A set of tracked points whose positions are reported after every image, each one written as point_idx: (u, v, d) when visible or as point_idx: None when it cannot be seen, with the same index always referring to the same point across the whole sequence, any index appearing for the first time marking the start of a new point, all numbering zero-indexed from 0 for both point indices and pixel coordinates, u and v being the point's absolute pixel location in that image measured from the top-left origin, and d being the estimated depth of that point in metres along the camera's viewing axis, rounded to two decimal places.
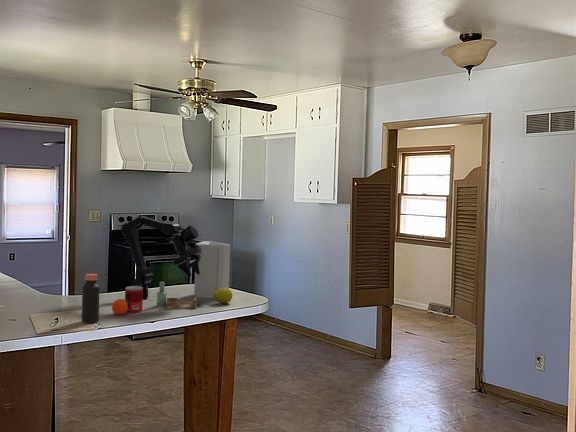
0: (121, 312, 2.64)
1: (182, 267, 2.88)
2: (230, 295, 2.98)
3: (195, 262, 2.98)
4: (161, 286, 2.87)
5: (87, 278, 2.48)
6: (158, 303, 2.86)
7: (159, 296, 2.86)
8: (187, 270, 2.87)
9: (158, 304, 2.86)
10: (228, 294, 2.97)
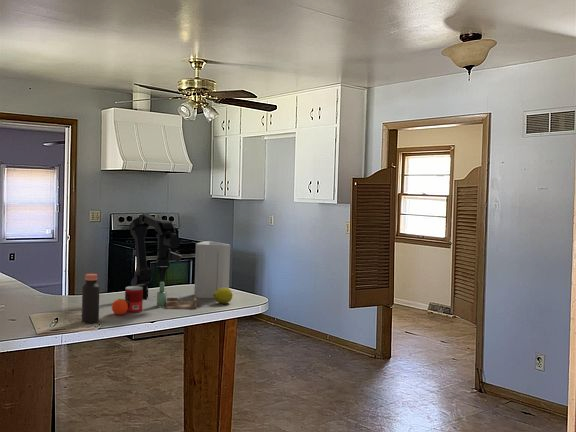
0: (121, 312, 2.64)
1: (160, 269, 2.81)
2: (230, 295, 2.98)
3: None
4: (161, 286, 2.87)
5: (87, 278, 2.48)
6: (158, 303, 2.86)
7: (159, 296, 2.86)
8: (163, 274, 2.82)
9: (158, 304, 2.86)
10: (228, 294, 2.97)
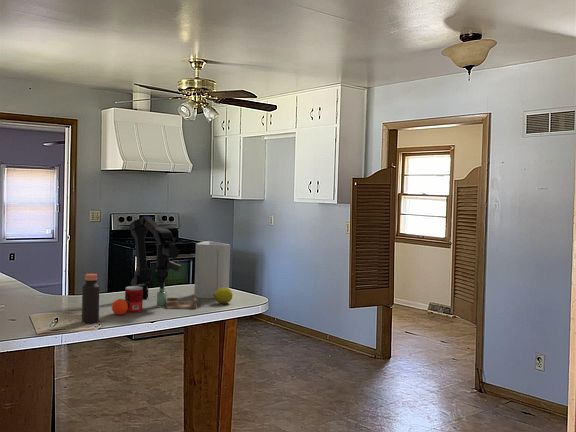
0: (121, 312, 2.64)
1: (159, 278, 2.84)
2: (230, 295, 2.98)
3: None
4: None
5: (87, 278, 2.48)
6: (158, 303, 2.86)
7: (159, 296, 2.86)
8: (162, 282, 2.85)
9: (158, 304, 2.86)
10: (228, 294, 2.97)
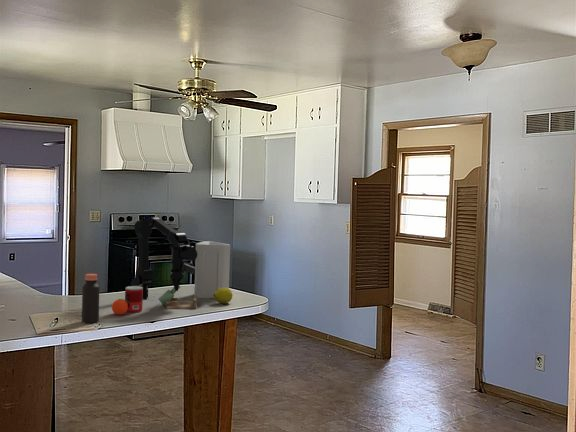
0: (121, 312, 2.64)
1: (174, 280, 2.86)
2: (230, 295, 2.98)
3: None
4: None
5: (87, 278, 2.48)
6: (161, 298, 2.86)
7: (167, 294, 2.87)
8: (177, 285, 2.87)
9: (160, 299, 2.86)
10: (228, 294, 2.97)
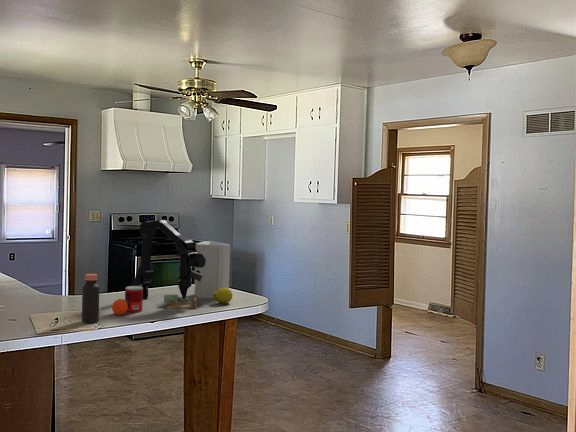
0: (121, 312, 2.64)
1: (182, 288, 2.84)
2: (230, 295, 2.98)
3: None
4: (184, 299, 2.89)
5: (87, 278, 2.48)
6: (167, 297, 2.87)
7: (174, 298, 2.87)
8: (185, 293, 2.85)
9: (166, 297, 2.87)
10: (228, 294, 2.97)
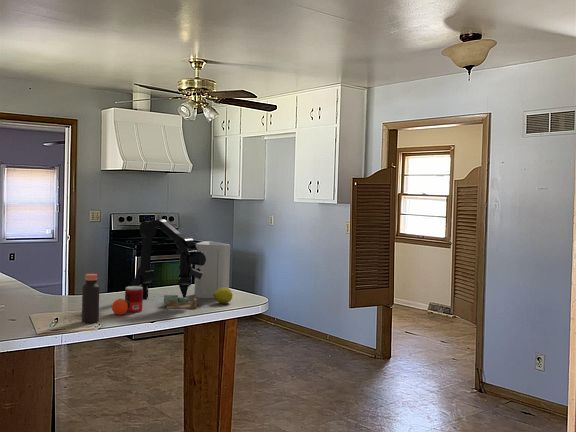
0: (121, 312, 2.64)
1: (182, 286, 2.83)
2: (230, 295, 2.98)
3: None
4: (184, 300, 2.88)
5: (87, 278, 2.48)
6: (167, 299, 2.85)
7: (174, 300, 2.86)
8: (185, 291, 2.84)
9: (166, 299, 2.85)
10: (228, 294, 2.97)
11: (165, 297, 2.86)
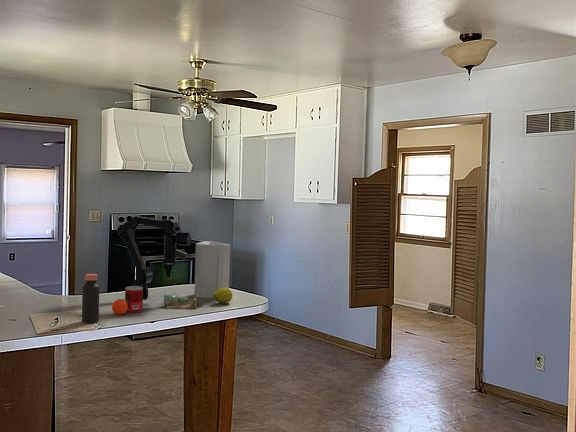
0: (121, 312, 2.64)
1: (166, 266, 2.93)
2: (230, 295, 2.98)
3: None
4: (184, 300, 2.88)
5: (87, 278, 2.48)
6: (167, 300, 2.85)
7: (174, 300, 2.86)
8: (169, 271, 2.94)
9: (165, 299, 2.85)
10: (228, 294, 2.97)
11: (165, 297, 2.85)
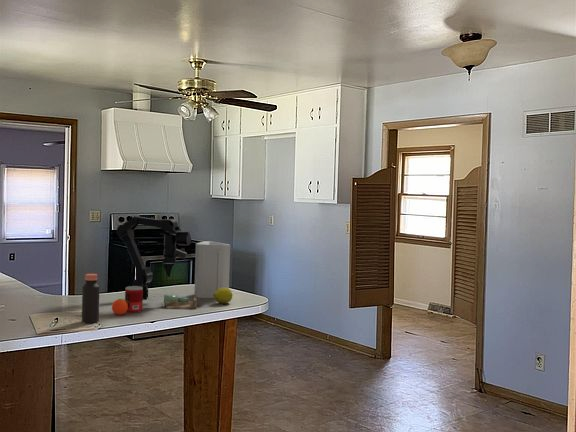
0: (121, 312, 2.64)
1: (166, 266, 2.93)
2: (230, 295, 2.98)
3: None
4: (184, 300, 2.88)
5: (87, 278, 2.48)
6: (167, 300, 2.85)
7: (174, 300, 2.86)
8: (169, 270, 2.94)
9: (165, 299, 2.85)
10: (228, 294, 2.97)
11: (165, 297, 2.85)
